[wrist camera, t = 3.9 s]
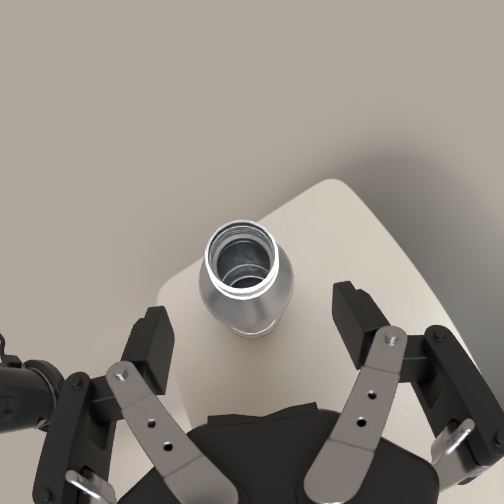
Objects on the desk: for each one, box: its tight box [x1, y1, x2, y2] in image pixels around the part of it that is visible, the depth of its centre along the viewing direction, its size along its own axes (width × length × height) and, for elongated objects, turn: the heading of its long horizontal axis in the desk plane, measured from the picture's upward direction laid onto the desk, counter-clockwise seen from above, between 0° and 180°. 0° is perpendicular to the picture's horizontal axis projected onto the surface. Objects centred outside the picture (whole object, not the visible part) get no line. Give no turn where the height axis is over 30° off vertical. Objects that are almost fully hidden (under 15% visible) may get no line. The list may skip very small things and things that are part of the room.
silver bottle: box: [199, 220, 294, 338], centre depth 23 cm, size 6×7×20 cm
